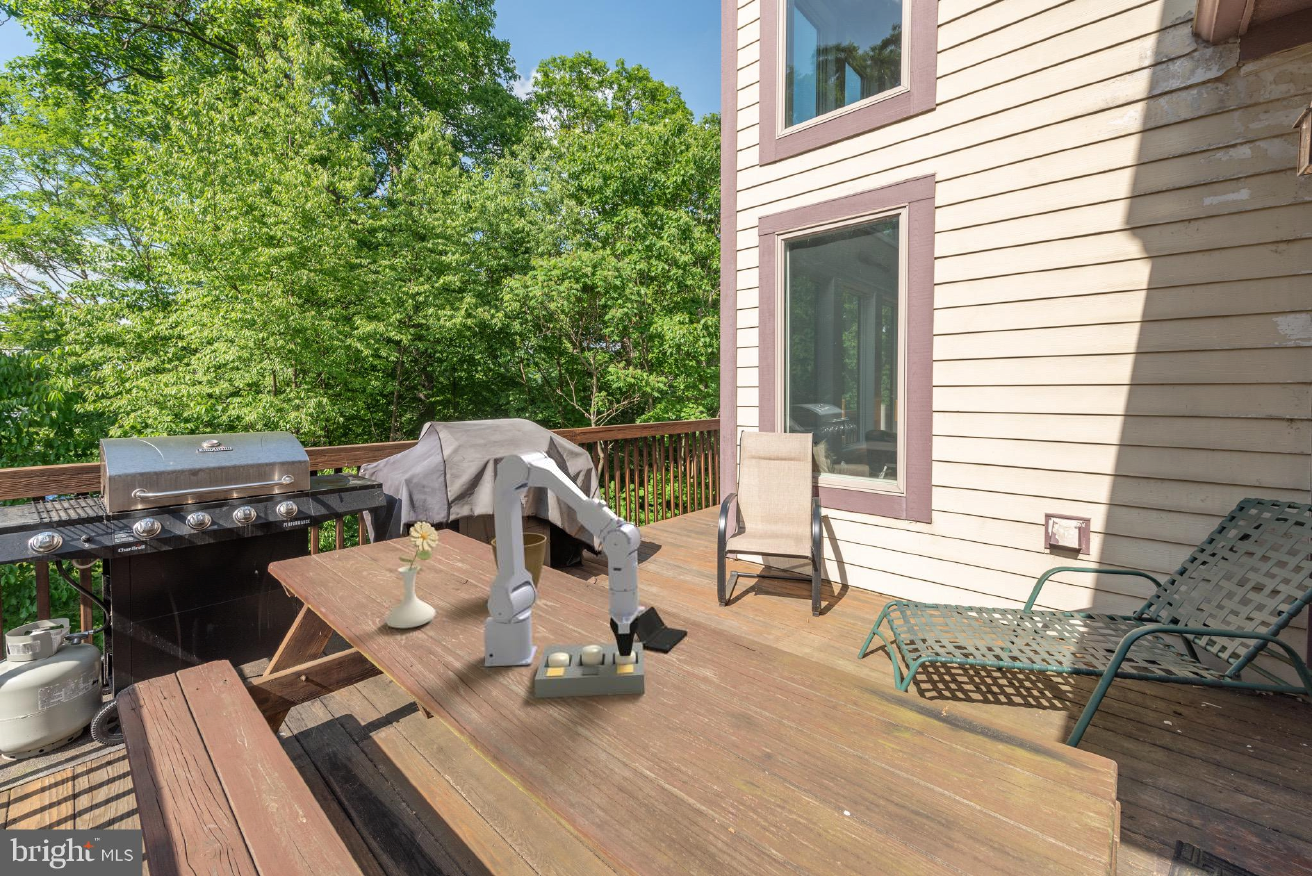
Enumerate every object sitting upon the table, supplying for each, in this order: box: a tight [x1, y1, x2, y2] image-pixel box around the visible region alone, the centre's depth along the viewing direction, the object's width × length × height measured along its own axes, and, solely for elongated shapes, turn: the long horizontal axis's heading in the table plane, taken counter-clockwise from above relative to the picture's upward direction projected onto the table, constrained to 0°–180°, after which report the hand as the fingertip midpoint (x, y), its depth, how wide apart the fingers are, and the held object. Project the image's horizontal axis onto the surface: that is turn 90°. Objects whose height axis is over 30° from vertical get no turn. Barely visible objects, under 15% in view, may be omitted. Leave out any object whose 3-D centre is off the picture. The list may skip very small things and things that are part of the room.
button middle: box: [581, 645, 602, 666], centre depth 111 cm, size 4×4×3 cm
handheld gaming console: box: [635, 606, 688, 654], centre depth 128 cm, size 12×7×10 cm
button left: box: [548, 653, 569, 667], centre depth 111 cm, size 4×4×3 cm
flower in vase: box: [385, 521, 439, 629], centre depth 140 cm, size 13×11×25 cm
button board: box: [534, 641, 646, 699], centre depth 111 cm, size 20×14×4 cm
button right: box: [615, 651, 636, 665], centre depth 111 cm, size 4×4×3 cm
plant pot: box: [490, 532, 547, 590], centre depth 159 cm, size 15×15×16 cm
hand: (625, 654), depth 111 cm, fingers closed, pressing on button right
